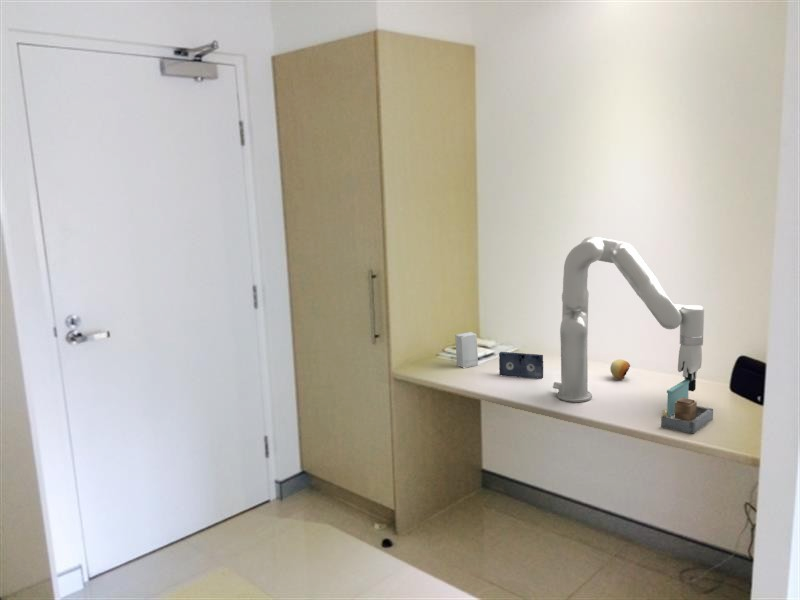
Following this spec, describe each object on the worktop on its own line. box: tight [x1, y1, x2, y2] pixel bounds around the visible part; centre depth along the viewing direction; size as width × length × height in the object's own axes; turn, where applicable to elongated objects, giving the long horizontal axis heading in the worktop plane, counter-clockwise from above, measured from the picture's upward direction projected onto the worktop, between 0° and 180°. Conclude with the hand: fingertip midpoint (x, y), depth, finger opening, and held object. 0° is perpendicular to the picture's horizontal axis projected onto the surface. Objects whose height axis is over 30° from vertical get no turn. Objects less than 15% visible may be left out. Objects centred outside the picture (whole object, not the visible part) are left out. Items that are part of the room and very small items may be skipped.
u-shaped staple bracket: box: [660, 405, 714, 435], centre depth 210 cm, size 10×17×6 cm, turn 134°
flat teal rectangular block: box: [666, 379, 690, 417], centre depth 222 cm, size 2×15×9 cm, turn 135°
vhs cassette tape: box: [498, 351, 544, 380], centre depth 269 cm, size 18×3×10 cm, turn 63°
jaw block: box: [674, 398, 698, 421], centre depth 211 cm, size 5×5×8 cm
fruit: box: [609, 359, 631, 380], centre depth 259 cm, size 8×8×8 cm
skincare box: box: [455, 331, 479, 368], centre depth 289 cm, size 8×6×15 cm
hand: (689, 389), depth 229 cm, fingers closed
